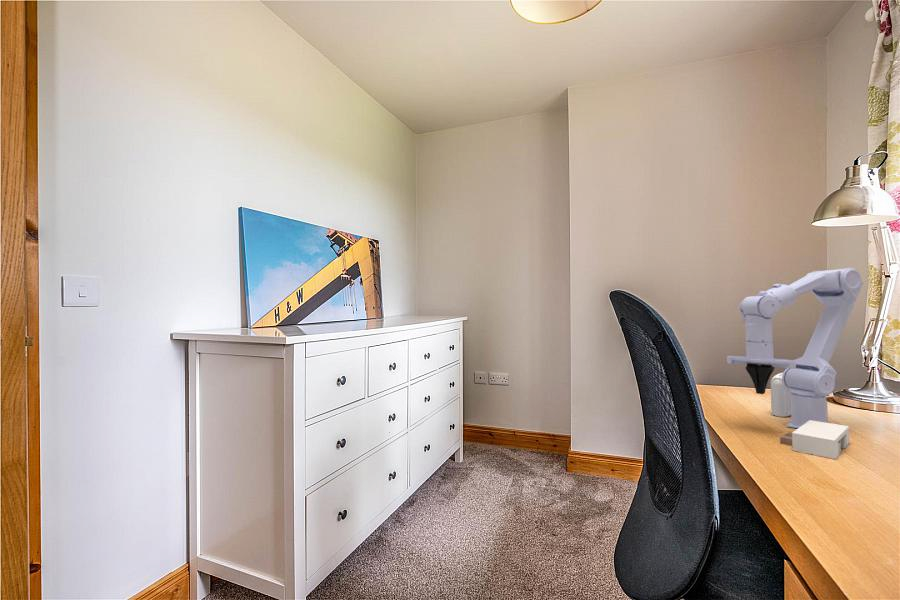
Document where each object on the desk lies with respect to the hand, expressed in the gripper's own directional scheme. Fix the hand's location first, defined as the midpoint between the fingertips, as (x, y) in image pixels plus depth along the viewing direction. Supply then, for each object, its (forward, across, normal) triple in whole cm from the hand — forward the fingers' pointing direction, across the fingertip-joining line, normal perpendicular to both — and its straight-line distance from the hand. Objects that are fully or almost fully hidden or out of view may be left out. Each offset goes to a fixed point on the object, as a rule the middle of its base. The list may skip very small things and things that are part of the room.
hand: (760, 393), depth 109 cm
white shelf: (+10, +12, -4) cm, 16 cm away
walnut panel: (+10, +10, -5) cm, 15 cm away
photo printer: (+10, -1, +25) cm, 27 cm away
